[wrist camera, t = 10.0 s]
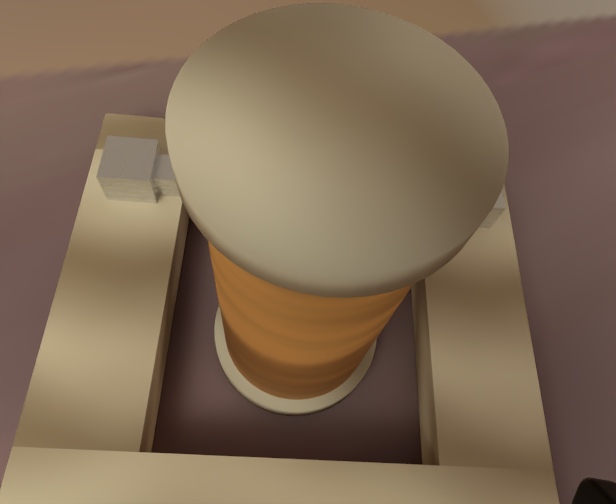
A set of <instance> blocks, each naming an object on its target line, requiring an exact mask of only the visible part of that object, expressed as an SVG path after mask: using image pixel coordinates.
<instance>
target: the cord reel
mask: <svg viewBox="0 0 616 504" xmlns="http://www.w3.org/2000/svg"><path fill="white" fill-rule="evenodd" d="M165 134H166V140H167V146H168V152H169V156H170V160H171V164H172V169H173V173H174V177H175V181H176V185H177V188H178V191H179V194H180V197H181V200H182V202H183V204H184V206H185V208H186V210H187V212H188V214H189V216H190V218H191V219H192V221H193V222H194V224H195V225H196V226H197V228H198V229H199V231H200V232H201V233H202V235H203V236H204V237H205V238H206V239H207V240H208V244H209V250H210V255H211V261H212V267H213V272H214V278H215V283H216V289H217V295H218V300H219V307H218V310H217V314H216V318H215V327H214V335H215V344H216V350H217V354H218V358H219V361H220V364H221V367H222V369H223V371H224V373H225V375H226V377H227V378H228V380H229V381H230V383H231V384H232V386H233V387H234V388H235V389H236V390H237V391H238V392H239V393H240V394H241V395H242V396H243V397H244V398H246V399H247V400H248V401H250V402H251V403H253V404H254V405H256V406H258V407H260V408H262V409H264V410H267V411H270V412H273V413H276V414H282V415H293V416H300V415H309V414H313V413H317V412H321V411H323V410H326V409H328V408H330V407H332V406H334V405H336V404H337V403H339V402H340V401H342V400H343V399H344V398H346V397H347V396H348V395H349V394H350V393H351V392H352V391H353V390H354V389H355V387H356V386H357V385H358V383H359V382H360V381H361V379H362V378H363V377H364V375H365V374H366V372H367V370H368V368H369V367H370V364H371V362H372V359H373V356H374V352H375V348H376V340H377V337H378V336H379V334H380V333H381V331H382V330H383V328H384V327H385V325H386V324H387V322H388V321H389V319H390V318H391V316H392V315H393V314H394V312H395V311H396V309H397V308H398V306H399V305H400V303H401V302H402V300H403V299H404V297H405V296H406V294H407V293H408V291H409V290H410V288H411V287H412V285H413V284H415V283H417V282H418V281H420V280H422V279H424V278H426V277H428V276H430V275H432V274H433V273H435V272H436V271H437V270H439V269H440V268H442V267H443V266H445V265H446V264H447V263H448V262H449V261H450V260H451V259H452V258H454V257H455V256H456V255H457V254H458V253H459V252H460V251H461V250H462V248H463V247H464V246H465V244H466V243H467V242H468V240H469V239H470V238H471V237H472V235H473V234H474V233H475V231H476V230H477V229H478V227H479V226H480V225H481V224H482V222H483V221H484V220H485V218H486V217H487V216H488V214H489V213H490V211H491V210H492V209H493V207H494V205H495V203H496V201H497V199H498V197H499V195H500V193H501V191H502V188H503V185H504V182H505V178H506V175H507V168H508V160H509V146H508V136H507V131H506V126H505V122H504V119H503V116H502V113H501V111H500V108H499V105H498V103H497V102H496V100H495V98H494V96H493V94H492V92H491V90H490V89H489V87H488V86H487V84H486V83H485V82H484V80H483V79H482V77H481V76H480V75H479V74H478V72H477V71H476V70H475V69H474V68H473V67H472V66H471V65H470V64H469V62H468V61H467V60H465V59H464V58H463V57H462V56H461V55H460V54H459V53H458V52H457V51H455V50H454V49H453V48H452V47H450V46H449V45H448V44H446V43H445V42H443V41H442V40H441V39H439V38H438V37H436V36H434V35H433V34H431V33H429V32H428V31H426V30H424V29H422V28H420V27H418V26H416V25H414V24H412V23H410V22H407V21H406V20H403V19H400V18H398V17H395V16H392V15H389V14H387V13H383V12H379V11H376V10H372V9H368V8H363V7H357V6H352V5H344V4H333V3H306V4H295V5H288V6H282V7H277V8H272V9H268V10H265V11H262V12H258V13H255V14H252V15H250V16H247V17H245V18H242V19H240V20H237V21H236V22H234V23H232V24H230V25H228V26H227V27H225V28H223V29H221V30H220V31H218V32H217V33H216V34H214V35H213V36H212V37H210V38H209V39H207V40H206V41H205V42H204V43H203V44H202V45H201V46H200V47H199V48H198V49H197V50H196V51H194V53H193V54H192V55H191V56H190V58H189V59H188V60H187V61H186V63H185V64H184V65H183V67H182V69H181V70H180V72H179V74H178V76H177V77H176V79H175V81H174V84H173V87H172V89H171V92H170V95H169V98H168V103H167V109H166V114H165Z"/></svg>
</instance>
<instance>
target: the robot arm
mask: <svg viewBox="0 0 616 504" xmlns="http://www.w3.org/2000/svg"><path fill="white" fill-rule="evenodd" d="M572 504H616V483H614V482H612V481H607V480H601V479H595V478H585V479H583V480H582V481H581V482H580V484H579V486H578V489H577V491H576V494H575V496H574V499H573V501H572Z"/></svg>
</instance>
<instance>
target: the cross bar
mask: <svg viewBox="0 0 616 504" xmlns="http://www.w3.org/2000/svg"><path fill="white" fill-rule="evenodd" d="M96 178H97V180H98V182H99V184H100V186H101V188H102V190H103V192H104V194H105V196H106V199H107V200H116V201H129V202H143V203H156V204H157V201H158V196H159V195H160V196H173V197H180V194H179V191H178V188H177V185H176V181H175V177H174V173H173V169H172V164H171V160H170V156H169V155H165V154H162V151H161V148H160V144H159V140H156V139H143V138H131V137H119V136H107V139H106V142H105V146H104V150H103V154H102V157H101V161H100V165H99V168H98V172H97V176H96ZM505 209H506V207H505V201H504V195H503V189H502V191H501V193H500V195H499V197H498V199H497V201H496V203H495V205H494V207H493V209H492V210H491V211H490V213H489V214H488V216H487V217H486V218H485V220H484V221H483V222H482V224H481V225H480V226H479V227H478V228H490V227H491V226H492V225H493V224H494V222H495V221H496V220H497V219H498V218H499V216H500V215H501V214H502V213H503V211H504V210H505Z"/></svg>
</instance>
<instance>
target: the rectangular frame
mask: <svg viewBox="0 0 616 504" xmlns="http://www.w3.org/2000/svg"><path fill="white" fill-rule="evenodd" d="M107 136H119V137H131V138H143V139H156V140H159V144H160V148H161V151H162V154H165V155H169V152H168V146H167V140H166V134H165V118H156V117H144V116H133V115H121V114H109V113H106V114H105V117H104V121H103V124H102V128H101V132H100V135H99V139H98V142H97V146H96V150H95V153H94V157H93V160H92V164H91V167H90V171H89V175H88V178H87V182H86V185H85V189H84V192H83V196H82V200H81V203H80V207H79V210H78V214H77V217H76V221H75V225H74V228H73V232H72V235H71V239H70V242H69V246H68V250H67V253H66V257H65V260H64V264H63V267H62V271H61V275H60V278H59V282H58V285H57V289H56V292H55V296H54V300H53V303H52V307H51V310H50V314H49V318H48V321H47V325H46V328H45V332H44V335H43V339H42V343H41V346H40V350H39V353H38V357H37V360H36V364H35V368H34V371H33V375H32V378H31V382H30V385H29V389H28V393H27V396H26V400H25V403H24V407H23V410H22V414H21V418H20V421H19V425H18V428H17V432H16V435H15V439H14V443H13V446H12V450H11V453H10V457H9V460H8V464H7V468H6V471H5V475H4V478H3V482H2V485H1V489H0V504H559V498H558V492H557V486H556V481H555V475H554V469H553V463H552V457H551V452H550V446H549V440H548V434H547V428H546V422H545V417H544V411H543V405H542V399H541V393H540V388H539V382H538V376H537V370H536V364H535V358H534V353H533V347H532V341H531V335H530V329H529V324H528V318H527V312H526V306H525V300H524V294H523V289H522V283H521V277H520V271H519V265H518V260H517V254H516V248H515V242H514V236H513V230H512V225H511V219H510V213H509V207H508V201H507V195H506V190H505V184H504V185H503V188H502V189H503V195H504V201H505V207H506V209H505V210H504V211H503V213H502V214H501V215H500V216H499V218H498V219H497V220H496V221H495V222H494V224H493V225H492V226H491V227H490V228H478V229H477V230H476V231H475V233H474V234H473V235H472V237H471V238H470V239H469V240H468V242H467V243H466V244H465V246H464V247H463V248H462V250H461V251H460V252H459V253H458V254H457V255H456V256H455V257H454V258H452V259H451V260H450V261H449V262H448V263H447V264H446V265H445V266H443V267H442V268H440V269H439V270H437V271H436V272H435V273H433V274H432V275H430V276H428V277H426V278H424V279H422V280H420V281H418V282H417V283H415V284H413V285H412V287H411V295H412V311H413V326H414V342H415V358H416V373H417V389H418V405H419V420H420V436H421V452H422V465H416V464H394V463H371V462H349V461H326V460H304V459H281V458H259V457H236V456H214V455H192V454H169V453H151V451H152V445H153V439H154V433H155V426H156V420H157V414H158V408H159V402H160V396H161V389H162V383H163V377H164V371H165V365H166V359H167V352H168V346H169V340H170V334H171V328H172V322H173V316H174V309H175V303H176V297H177V291H178V285H179V279H180V272H181V266H182V260H183V254H184V248H185V242H186V235H187V229H188V223H189V217H190V216H189V214H188V212H187V210H186V208H185V206H184V204H183V202H182V200H181V197H173V196H160V195H159V196H158V201H157V204H156V203H143V202H129V201H116V200H107V199H106V196H105V194H104V192H103V190H102V188H101V186H100V184H99V182H98V180H97V178H96V176H97V172H98V168H99V165H100V161H101V157H102V154H103V150H104V146H105V142H106V139H107Z"/></svg>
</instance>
